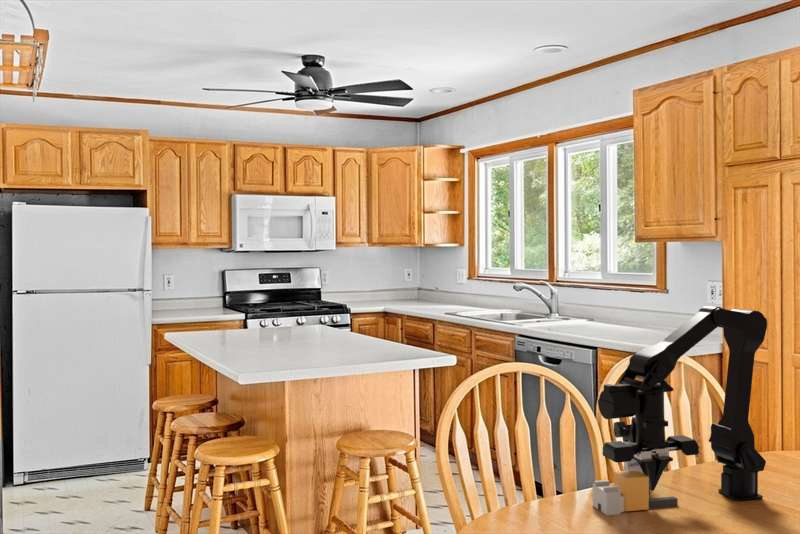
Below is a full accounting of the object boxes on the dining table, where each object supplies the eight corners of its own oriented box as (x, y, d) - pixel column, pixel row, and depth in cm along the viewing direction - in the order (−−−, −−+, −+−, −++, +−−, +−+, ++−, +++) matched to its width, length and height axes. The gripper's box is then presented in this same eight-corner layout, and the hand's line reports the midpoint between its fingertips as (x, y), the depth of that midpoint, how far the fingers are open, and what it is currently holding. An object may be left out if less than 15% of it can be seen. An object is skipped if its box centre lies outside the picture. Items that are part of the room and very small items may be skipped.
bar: (673, 503, 159) (673, 496, 159) (677, 505, 157) (677, 498, 157) (597, 509, 155) (597, 502, 155) (601, 511, 154) (601, 504, 154)
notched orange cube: (636, 501, 159) (636, 470, 159) (648, 509, 154) (648, 476, 154) (614, 503, 158) (614, 471, 158) (625, 511, 153) (625, 478, 153)
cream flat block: (615, 505, 157) (615, 491, 157) (624, 511, 154) (624, 496, 154) (611, 506, 157) (611, 491, 157) (619, 512, 153) (619, 497, 153)
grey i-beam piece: (606, 504, 158) (606, 479, 158) (620, 514, 152) (620, 487, 152) (592, 505, 157) (592, 480, 157) (606, 515, 152) (606, 488, 151)
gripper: (669, 403, 166) (670, 474, 167) (589, 409, 162) (591, 483, 163) (699, 413, 155) (701, 490, 156) (614, 421, 151) (617, 499, 152)
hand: (651, 490), depth 157 cm, fingers closed
